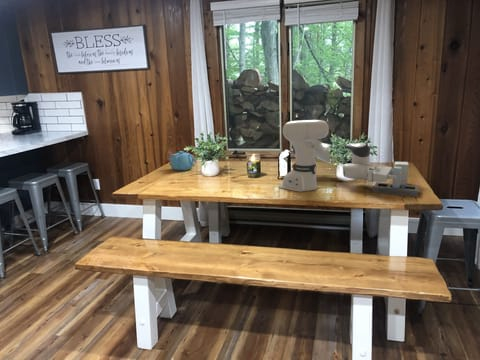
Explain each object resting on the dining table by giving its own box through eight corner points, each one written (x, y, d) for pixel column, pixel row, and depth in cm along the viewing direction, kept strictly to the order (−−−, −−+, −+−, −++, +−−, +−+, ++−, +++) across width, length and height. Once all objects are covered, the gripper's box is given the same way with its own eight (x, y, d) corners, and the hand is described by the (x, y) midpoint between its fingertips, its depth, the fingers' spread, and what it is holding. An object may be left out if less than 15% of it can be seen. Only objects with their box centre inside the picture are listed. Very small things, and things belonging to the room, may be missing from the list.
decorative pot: (173, 173, 272) (172, 154, 268) (169, 168, 286) (167, 150, 282) (196, 170, 277) (194, 151, 273) (190, 165, 292) (189, 148, 288)
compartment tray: (373, 192, 212) (373, 186, 211) (376, 187, 220) (376, 182, 219) (416, 196, 201) (417, 191, 200) (418, 191, 209) (419, 186, 209)
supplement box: (407, 186, 219) (408, 164, 216) (393, 185, 222) (394, 164, 219) (406, 182, 226) (408, 161, 223) (393, 182, 229) (394, 161, 225)
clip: (391, 191, 210) (393, 168, 206) (393, 189, 213) (394, 166, 209) (398, 192, 208) (400, 168, 205) (400, 190, 211) (401, 166, 208)
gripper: (375, 173, 224) (401, 175, 217) (368, 182, 207) (395, 185, 200) (376, 163, 222) (401, 164, 215) (368, 171, 205) (396, 173, 198)
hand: (398, 174), depth 208 cm, fingers open, 8 cm apart
